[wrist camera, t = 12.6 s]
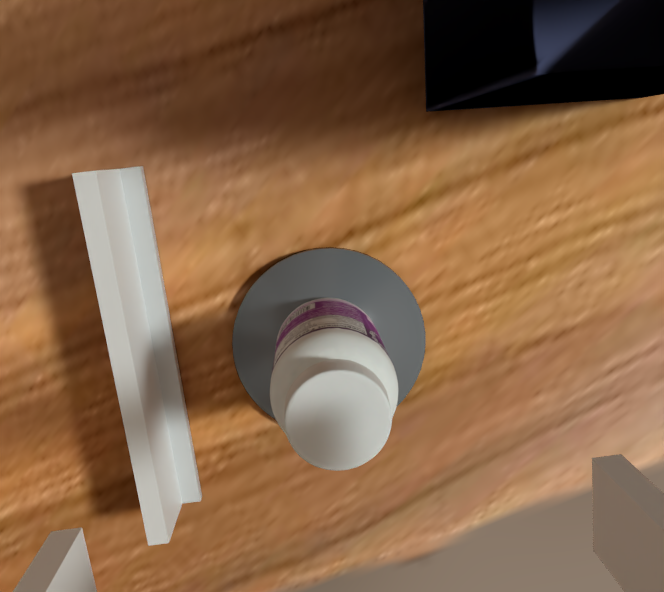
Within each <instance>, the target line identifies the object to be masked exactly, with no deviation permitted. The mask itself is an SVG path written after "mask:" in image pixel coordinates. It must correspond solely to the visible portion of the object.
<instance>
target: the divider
mask: <svg viewBox="0 0 664 592" xmlns="http://www.w3.org/2000/svg"><path fill="white" fill-rule="evenodd" d="M72 176H73V181H74V186H75V191H76V196H77V201H78V205H79V210H80V215H81V220H82V225H83V230H84V235H85V239H86V244H87V249H88V254H89V259H90V264H91V269H92V273H93V278H94V283H95V288H96V293H97V298H98V303H99V307H100V312H101V317H102V322H103V327H104V332H105V337H106V342H107V346H108V351H109V356H110V361H111V366H112V371H113V376H114V380H115V385H116V390H117V395H118V400H119V405H120V410H121V414H122V419H123V424H124V429H125V434H126V439H127V444H128V448H129V453H130V458H131V463H132V468H133V473H134V478H135V483H136V487H137V492H138V497H139V502H140V507H141V512H142V517H143V521H144V526H145V531H146V536H147V541H148V546H149V545H157V544H165V543H169V541H170V538H171V535H172V532H173V529H174V526H175V524H176V521H177V518H178V515H179V512H180V509H181V506H182V503H190V502H198V501H201V498H202V493H201V487H200V482H199V476H198V471H197V465H196V460H195V454H194V448H193V443H192V437H191V432H190V426H189V420H188V415H187V409H186V404H185V398H184V393H183V387H182V381H181V376H180V370H179V365H178V359H177V353H176V348H175V342H174V337H173V331H172V326H171V320H170V314H169V309H168V303H167V298H166V292H165V287H164V281H163V275H162V270H161V264H160V259H159V253H158V247H157V242H156V236H155V231H154V225H153V220H152V214H151V208H150V203H149V197H148V192H147V186H146V180H145V175H144V169H143V166H139V167H131V168H122V169H110V170H97V171H88V172H79V173H72Z"/></svg>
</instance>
